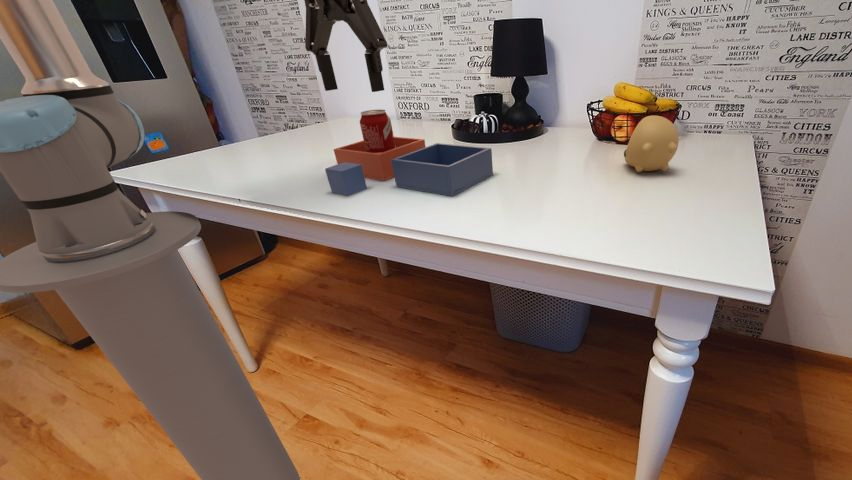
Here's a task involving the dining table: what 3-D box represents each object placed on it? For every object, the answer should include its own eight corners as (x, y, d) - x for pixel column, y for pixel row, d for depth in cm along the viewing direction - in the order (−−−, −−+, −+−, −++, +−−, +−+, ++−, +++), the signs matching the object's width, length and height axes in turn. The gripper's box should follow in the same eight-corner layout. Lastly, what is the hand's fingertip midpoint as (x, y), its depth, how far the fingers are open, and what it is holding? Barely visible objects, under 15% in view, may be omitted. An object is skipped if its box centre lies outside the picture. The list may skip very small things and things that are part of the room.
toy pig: (665, 184, 85) (658, 141, 88) (691, 151, 74) (682, 103, 77) (619, 185, 85) (614, 142, 88) (638, 152, 74) (631, 104, 77)
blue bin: (396, 186, 82) (391, 159, 79) (440, 167, 93) (437, 142, 90) (452, 196, 76) (448, 167, 73) (493, 174, 86) (491, 148, 83)
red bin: (339, 173, 93) (333, 149, 90) (384, 157, 104) (380, 135, 101) (384, 180, 86) (379, 154, 83) (428, 163, 97) (424, 139, 94)
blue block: (331, 192, 81) (324, 168, 79) (350, 185, 85) (344, 161, 82) (348, 196, 79) (341, 171, 76) (367, 188, 83) (361, 164, 80)
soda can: (385, 170, 91) (373, 114, 84) (363, 168, 94) (350, 113, 87) (404, 163, 96) (395, 109, 89) (383, 160, 99) (373, 108, 92)
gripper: (392, -49, 68) (412, 89, 79) (298, -32, 79) (328, 87, 90) (359, -55, 62) (386, 94, 73) (263, -36, 73) (299, 91, 84)
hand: (354, 90), depth 82 cm, fingers open, 13 cm apart
